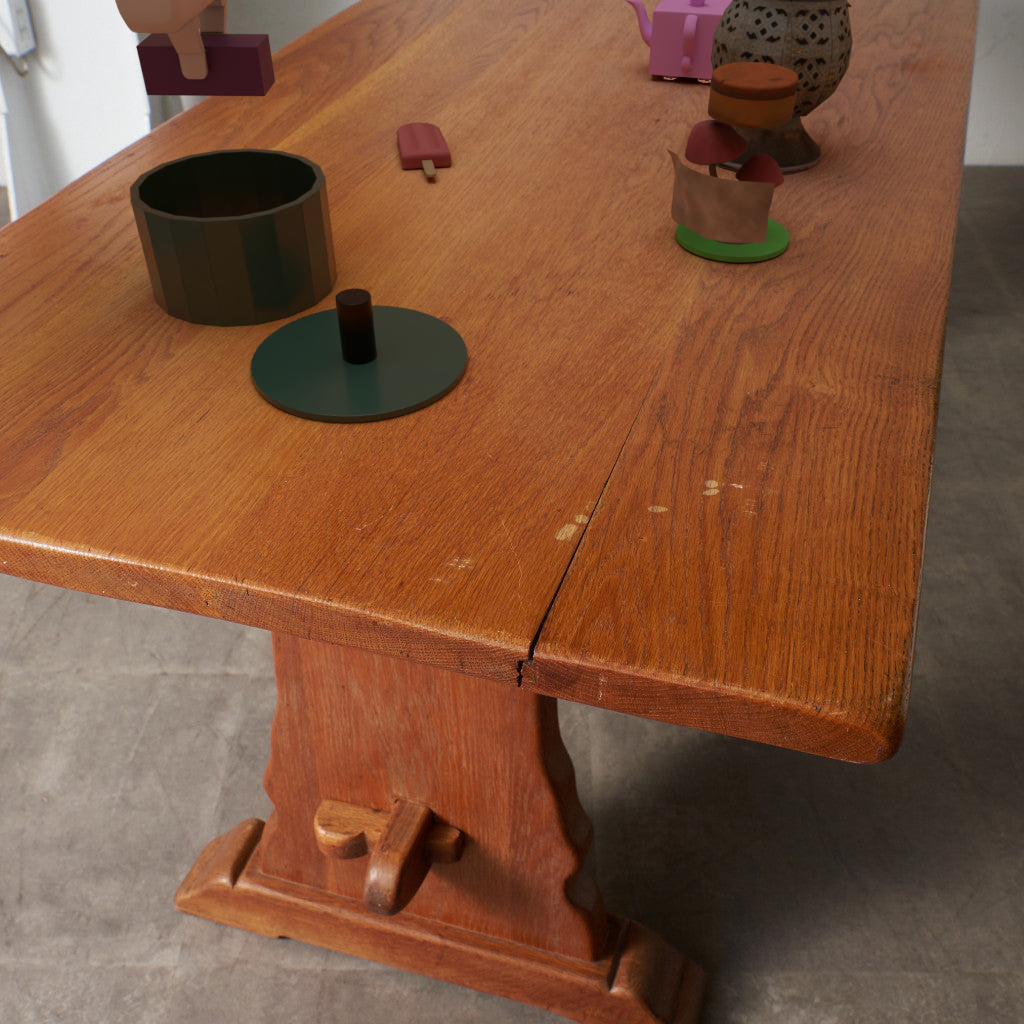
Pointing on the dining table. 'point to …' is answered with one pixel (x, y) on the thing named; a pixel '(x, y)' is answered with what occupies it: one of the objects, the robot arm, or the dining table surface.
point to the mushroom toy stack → (744, 203)
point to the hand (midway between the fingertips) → (207, 66)
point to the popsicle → (422, 147)
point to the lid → (359, 362)
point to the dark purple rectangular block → (233, 60)
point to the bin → (236, 236)
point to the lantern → (787, 66)
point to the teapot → (680, 36)
